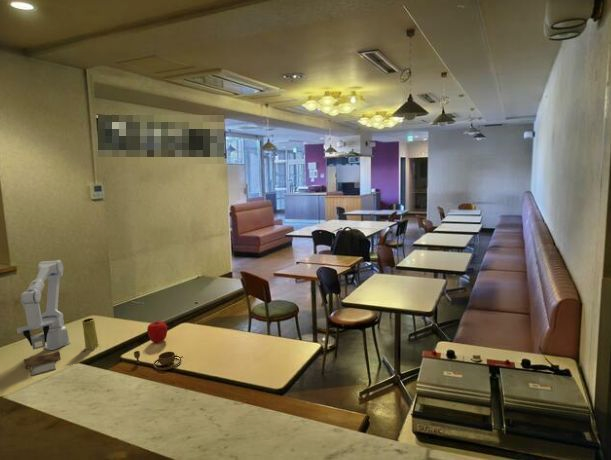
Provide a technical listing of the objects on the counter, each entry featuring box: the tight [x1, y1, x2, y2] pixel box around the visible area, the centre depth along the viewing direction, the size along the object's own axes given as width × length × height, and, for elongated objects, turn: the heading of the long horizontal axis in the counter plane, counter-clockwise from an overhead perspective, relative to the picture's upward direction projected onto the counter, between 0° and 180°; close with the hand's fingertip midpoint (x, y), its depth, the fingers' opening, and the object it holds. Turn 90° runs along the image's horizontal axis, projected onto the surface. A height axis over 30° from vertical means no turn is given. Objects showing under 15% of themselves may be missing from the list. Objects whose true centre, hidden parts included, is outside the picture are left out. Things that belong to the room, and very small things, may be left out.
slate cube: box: [31, 332, 47, 350], centre depth 197 cm, size 5×5×5 cm
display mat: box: [31, 361, 57, 377], centre depth 190 cm, size 9×9×1 cm
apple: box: [147, 320, 168, 344], centre depth 211 cm, size 10×10×11 cm
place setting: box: [133, 350, 182, 371], centre depth 190 cm, size 18×20×6 cm
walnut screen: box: [23, 350, 61, 369], centre depth 195 cm, size 14×2×4 cm, turn 123°
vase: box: [81, 317, 100, 350], centre depth 209 cm, size 6×6×14 cm
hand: (38, 343), depth 197 cm, fingers closed on slate cube, 5 cm apart
